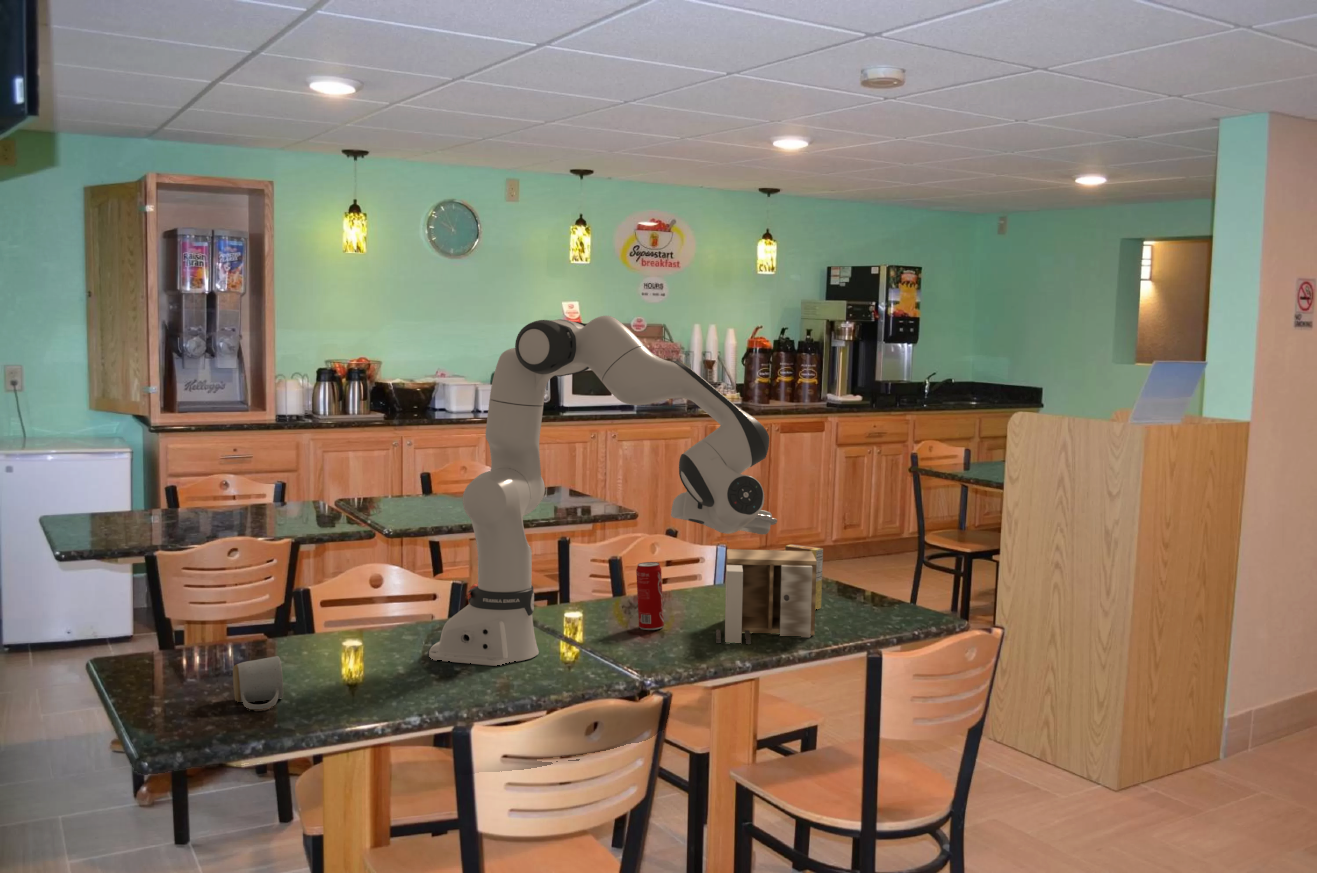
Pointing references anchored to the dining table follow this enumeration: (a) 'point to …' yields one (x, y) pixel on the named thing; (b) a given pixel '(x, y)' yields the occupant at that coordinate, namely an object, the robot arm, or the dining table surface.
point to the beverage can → (650, 596)
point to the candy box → (819, 558)
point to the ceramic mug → (258, 682)
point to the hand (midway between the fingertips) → (714, 522)
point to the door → (733, 603)
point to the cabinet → (776, 592)
